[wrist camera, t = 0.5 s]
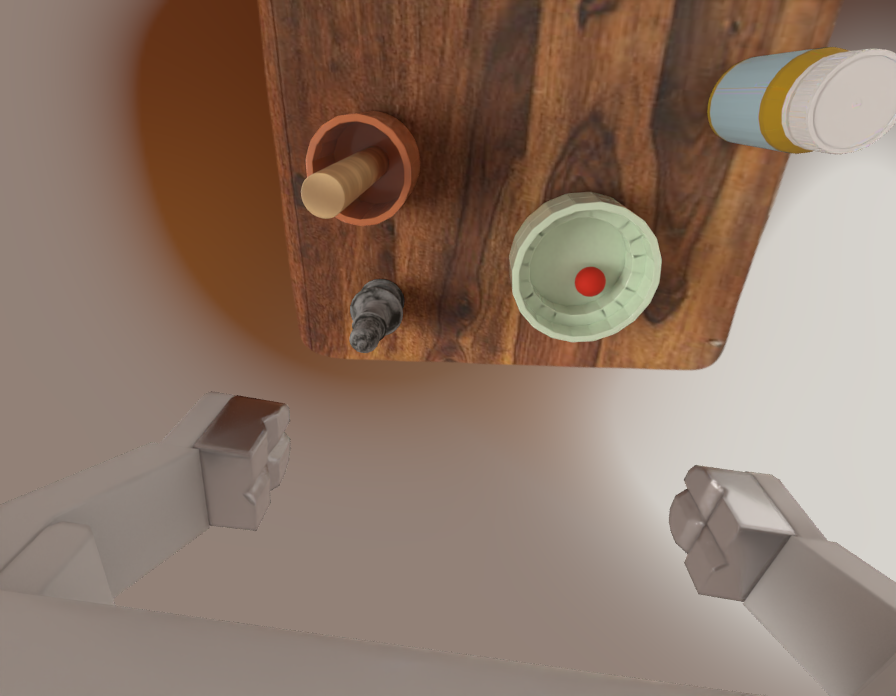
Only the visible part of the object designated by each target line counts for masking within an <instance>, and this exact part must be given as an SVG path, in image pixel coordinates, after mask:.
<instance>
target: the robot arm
mask: <svg viewBox="0 0 896 696" xmlns="http://www.w3.org/2000/svg"><path fill="white" fill-rule="evenodd" d="M289 422H290V414H289V407H288V405H287V404H285V403H279V402H273V401H267V400H261V399H256V398H249V397H243V396H238V395H237V396H235V395H231V394H224V393H218V392H209V393H206V394H204V395H203V396H202V397H201V398H200V400H199V401H198V402H197V403H196V404H195V405H194V406H193V407H192V408H191V410H190V411H189V412H188V413H187V414H186V415H185V416H184V417H183V418H182V420H180V421H179V423H178V424H177V425H176V426H175V427H174V428H173V429H172V430H171V431H170V432H169V434H168V435H167V436H166V437H165V438H164V439H163V440H162V441H161V442H160V443H153V442H150V443H148V444H146V445H144V446H141V447H138V448H136V449H134V450H131V451H129V452H126V453H124V454H121V455H119V456H117V457H114V458H112V459H109V460H107V461H105V462H102V463H100V464H97V465H95V466H92V467H90V468H88V469H85V470H83V471H80V472H78V473H76V474H73V475H71V476H68V477H66V478H63V479H61V480H59V481H56V482H54V483H51V484H49V485H47V486H44V487H42V488H39V489H37V490H34V491H32V492H30V493H27V494H25V495H22V496H20V497H17V498H15V499H13V500H10V501H8V502H5V503H3V504H0V696H763V695H756V694H749V693H742V692H735V691H727V690H720V689H713V688H706V687H698V686H691V685H683V684H676V683H669V682H662V681H655V680H647V679H640V678H633V677H625V676H618V675H610V674H603V673H596V672H589V671H581V670H575V669H568V668H560V667H553V666H546V665H539V664H532V663H525V662H517V661H510V660H503V659H495V658H489V657H481V656H474V655H467V654H460V653H453V652H446V651H439V650H431V649H424V648H417V647H410V646H403V645H395V644H388V643H380V642H374V641H366V640H359V639H352V638H345V637H338V636H330V635H323V634H316V633H309V632H301V631H295V630H287V629H280V628H273V627H265V626H258V625H251V624H244V623H237V622H230V621H223V620H215V619H207V618H201V617H193V616H186V615H179V614H172V613H165V612H158V611H150V610H143V609H136V608H128V607H122V606H116V605H115V602H114V600H113V598H115V597H116V596H118V595H119V594H120V593H122V592H123V591H124V590H126V589H127V588H128V587H130V586H131V585H132V584H134V583H135V582H137V581H138V580H139V579H141V578H142V577H143V576H145V575H146V574H147V573H149V572H150V571H152V570H153V569H154V568H156V567H157V566H158V565H160V564H161V563H163V562H164V561H165V560H167V559H168V558H169V557H171V556H172V555H174V553H176V552H178V551H179V550H180V549H182V548H183V547H184V546H186V545H187V544H189V543H190V542H191V541H192V540H194V539H195V538H197V537H198V536H199V535H201V534H202V533H203V532H205V531H206V530H207V529H209V525H211V526H218V527H227V528H236V529H245V530H253V531H256V530H257V529H258V527H259V525H260V523H261V521H262V519H263V517H264V515H265V513H266V511H267V509H268V507H269V505H270V503H271V502H270V501H271V500H270V491H271V490H273V489H274V488H276V487H278V486H279V485H280V483H281V481H282V479H283V477H284V475H285V472H286V468H287V465H288V461H289V455H290V438H289V437H288V435H287V434H286V433H285V432H284V431H285V429H286V427H287V425H288V424H289ZM684 481H685V484H686V486H687V489H686V490H684V491H683V492H681V493H679V494H678V495H676V496H675V498H674V500H673V502H672V505H671V507H670V514H669V524H670V529H671V533H672V536H673V538H674V540H675V543H676V544H677V545H678V546H680V547H681V548H682V549H683V550H684V551H685V552H686V553H687V557H686V560H685V562H684V563H685V565H686V567H687V570H688V572H689V574H690V576H691V579H692V581H693V583H694V585H695V587H696V590H697V592H698V594H701V595H707V596H712V597H718V598H724V599H730V600H736V601H742V602H744V603H743V605H744V606H745V607H746V608H747V609H748V610H749V611H750V612H751V613H752V614H753V615H754V616H755V617H756V619H758V621H759V622H760V623H761V624H763V626H764V627H765V628H766V629H767V630H768V631H769V632H770V633H771V634H772V635H773V637H774V638H775V639H776V640H777V641H778V642H779V643H780V644H781V645H782V646H783V647H784V648H785V649H786V650H787V651H788V652H789V653H790V654H791V656H793V658H794V659H795V660H796V661H797V662H798V663H799V664H800V665H801V666H802V667H803V668H804V669H805V670H806V671H807V672H808V673H809V674H810V676H811V677H813V679H814V680H815V681H816V682H817V683H818V684H819V685H820V686H821V687H822V688H823V689H824V690H825V691H826V692H827V693H828V695H829V696H896V582H894V581H893V580H891V579H890V578H888V577H887V576H885V575H884V574H882V573H881V572H879V571H878V570H876V569H875V568H873V567H872V566H870V565H869V564H867V563H866V562H864V561H863V560H862V559H860V558H858V557H857V556H856V555H854V554H853V553H851V552H849V551H848V550H847V549H845V548H844V547H842V546H841V545H839V544H838V543H836V542H830V541H827V539H826V538H825V537H824V535H823V534H822V533H821V532H820V531H819V529H818V528H817V527H816V525H815V524H814V523H813V522H812V520H811V519H810V518H809V517H808V515H807V514H806V513H805V511H804V510H803V509H802V508H801V506H800V505H799V504H798V503H797V501H796V500H795V499H794V498H793V496H792V495H791V494H790V493H789V491H788V490H787V489H786V488H785V486H784V485H783V484H782V482H781V481H780V480H779V479H777V478H776V477H774V476H773V475H770V474H762V473H754V472H740V471H733V470H726V469H719V468H713V467H705V466H698V465H695V466H694V467H692V468H691V469H690V470H689V471H688V473H687V475H686V477H685V479H684Z"/></svg>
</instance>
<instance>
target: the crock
mask: <svg viewBox="0 0 896 696" xmlns="http://www.w3.org/2000/svg"><path fill="white" fill-rule="evenodd" d="M370 146H375V147H379V148H380V149H382V150H383V151H384V152H385V153H386V155H387V157H388V160H389V167H388V170H387V172H386V173H385V174H384V175H383V176H382V177H381V178H380V179H379V180H377V181H376V182H375V183H374V184H373V185H372V186H370V187H369V188H368V189H367V190H366V191H365V192H364V193H362V194H361V195H360V196H359V197H358V198H357V199H355V200H354V201H353V202H352V203H351V204H350V205H349V206H347V207H346V208H345V209H344V210H343V211H342V212H340V213H339V214H338V215H337V216H335V217H336V218H338V219H339V220H341V221H342V222H345V223H349V224H354V225H358V226H366V225H374V224H379V223H381V222H383V221H385V220H387V219H388V218H390V217H392V216H394V214H395V213H396V212H397V211H398V210H399V209H400V207H401V206H402V205H403V204H404V203H405V201H406V200H407V198H408V197H409V195H410V194H411V192H412V191H413V189H414V187H415V184H416V182H417V179H418V176H419V172H420V154H419V150H418V146H417V144H416V141H415V139H414V137H413V135H412V134H411V132H410V131H409V130H408V128H407V127H406V126H405V125H404V124H403V123H402V122H400V121H399V120H398V119H396V118H395V117H393V116H391V115H389V114H386V113H383V112H377V111H366V112H359V113H353V114H346V115H340V116H336V117H335V118H333V119H331V120H330V121H328V122H326V123H325V124H323V125H322V126H321V127H320V128H319V129H318V131H317V132H316V134H315V135H314V137H313V138H312V139H311V141H310V144H309V148H308V152H307V156H306V170H307V177H309V176H310V175H312V174H314V173H316V172H318V171H320V170H322V169H324V168H326V167H328V166H330V165H332V164H334V163H336V162H338V161H340V160H343V159H345V158H347V157H349V156H351V155H353V154H355V153H357V152H359V151H361V150H363V149H365V148H367V147H370Z"/></svg>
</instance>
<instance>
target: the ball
mask: <svg viewBox="0 0 896 696" xmlns="http://www.w3.org/2000/svg"><path fill="white" fill-rule="evenodd" d="M605 284H606V278H605V275H604V273H603V272H602V271H601V270H600V269H598V268H596V267H586V268H583V269H582V270H580V271H579V272H578V274H577V275H576V278H575V287H576V289H577V291H578V292H579V293H580V294H582V295H583V296H587V297H593V296H596V295H598V294H599V293H601V292H602V291H603V289H604V287H605Z"/></svg>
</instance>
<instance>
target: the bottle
mask: <svg viewBox="0 0 896 696" xmlns="http://www.w3.org/2000/svg"><path fill="white" fill-rule="evenodd" d="M707 115H708V120H709V124H710V127H711V128H712V130H713V131H714V133H715V134H716V135H717V136H719V137H720V138H722V139H723V140H725V141H728V142H733V143H738V144H743V145H748V146H754V147H759V148H765V149H770V150H775V151H781V152H786V153H795V154H799V153H807V152H812V151H817V152H823V153H830V154H843V153H845V154H846V153H850V152H855V151H858V150H861V149H863V148H865V147H867V146H869V145H871V144H873V143H874V142H876V141H877V140H878V139H880V138H881V137H882V136H883V135H885V134H886V133H887V132H888V131H889V130H890V129H891V128H892V127H893V125H894V124H895V123H896V53H894V52H891V51H889V50H885V49H878V48H877V49H864V50H856V51H848V50H845V49H841V48H836V47H825V48H817V49H810V50H803V51H795V52H788V53H781V54H773V55H766V56H759V57H752V58H749V59H745V60H743V61H741V62H739V63H737V64H735V65H734V66H732V67H731V68H730V69H729V70H728V71H726V72H725V73H724V74H723V75H722V76H721V78H720V79H719V81H718V82H717V83H716V85H715V86H714V88H713V90H712V93H711V95H710V98H709V102H708V110H707Z"/></svg>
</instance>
